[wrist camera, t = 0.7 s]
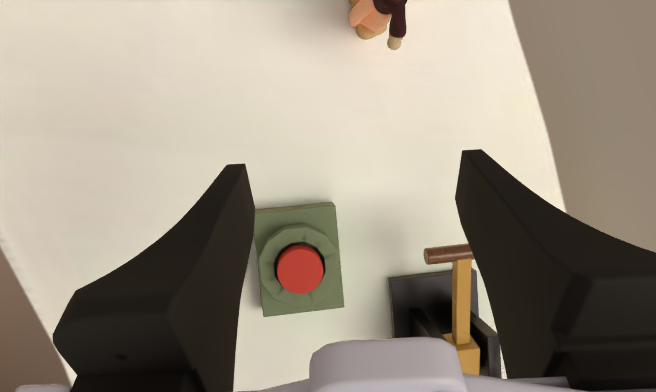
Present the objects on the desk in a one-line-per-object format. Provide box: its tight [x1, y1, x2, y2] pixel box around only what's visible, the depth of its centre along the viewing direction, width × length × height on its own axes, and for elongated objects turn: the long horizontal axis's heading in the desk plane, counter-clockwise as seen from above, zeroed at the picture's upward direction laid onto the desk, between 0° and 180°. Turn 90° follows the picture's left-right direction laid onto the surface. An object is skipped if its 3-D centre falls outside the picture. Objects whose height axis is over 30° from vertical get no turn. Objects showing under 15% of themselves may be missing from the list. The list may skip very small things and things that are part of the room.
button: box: [277, 245, 323, 294], centre depth 36 cm, size 4×4×2 cm
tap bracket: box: [388, 268, 501, 378], centre depth 38 cm, size 10×8×8 cm
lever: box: [424, 244, 480, 375], centre depth 35 cm, size 11×6×2 cm, turn 6°
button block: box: [254, 202, 344, 317], centre depth 39 cm, size 9×7×4 cm
